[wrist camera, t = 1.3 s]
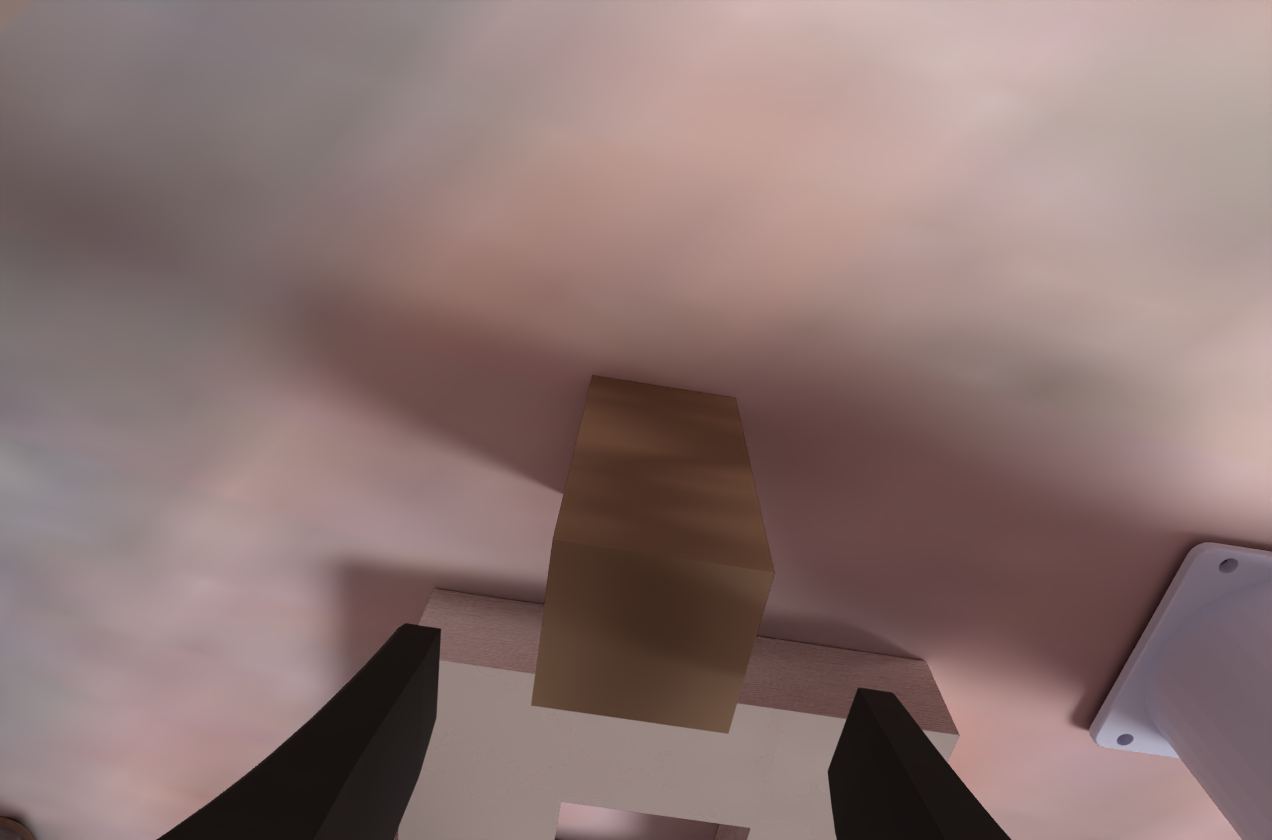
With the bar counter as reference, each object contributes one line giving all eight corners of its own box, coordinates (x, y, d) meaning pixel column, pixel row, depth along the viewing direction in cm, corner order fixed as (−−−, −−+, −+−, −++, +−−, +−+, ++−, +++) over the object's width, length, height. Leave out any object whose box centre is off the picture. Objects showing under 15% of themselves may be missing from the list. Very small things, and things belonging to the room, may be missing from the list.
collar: (926, 661, 24) (959, 735, 21) (803, 956, 31) (817, 1041, 28) (434, 588, 24) (404, 655, 21) (417, 904, 30) (393, 986, 27)
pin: (735, 398, 21) (774, 572, 13) (707, 519, 22) (728, 733, 15) (592, 375, 20) (552, 539, 13) (575, 499, 22) (531, 705, 15)
